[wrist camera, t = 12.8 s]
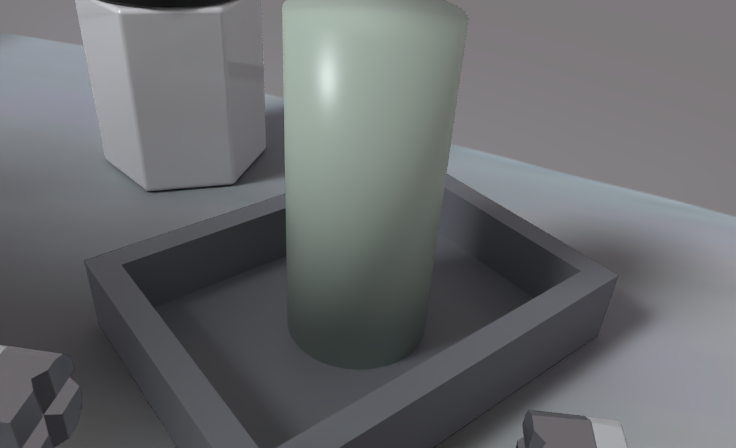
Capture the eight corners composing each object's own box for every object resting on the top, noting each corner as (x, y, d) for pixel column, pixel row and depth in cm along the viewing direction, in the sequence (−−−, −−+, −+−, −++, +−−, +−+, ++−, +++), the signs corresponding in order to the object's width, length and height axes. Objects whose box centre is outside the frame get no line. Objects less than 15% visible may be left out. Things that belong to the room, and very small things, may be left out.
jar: (293, 162, 37) (291, -61, 30) (166, 212, 32) (131, -44, 25) (206, 112, 42) (187, -90, 35) (84, 148, 37) (37, -79, 30)
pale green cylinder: (343, 393, 22) (360, 52, 15) (261, 307, 26) (246, -2, 19) (453, 330, 25) (507, 21, 18) (366, 261, 28) (386, -20, 22)
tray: (254, 569, 18) (249, 502, 16) (98, 323, 25) (83, 260, 23) (597, 334, 26) (618, 275, 24) (404, 204, 34) (410, 152, 32)
